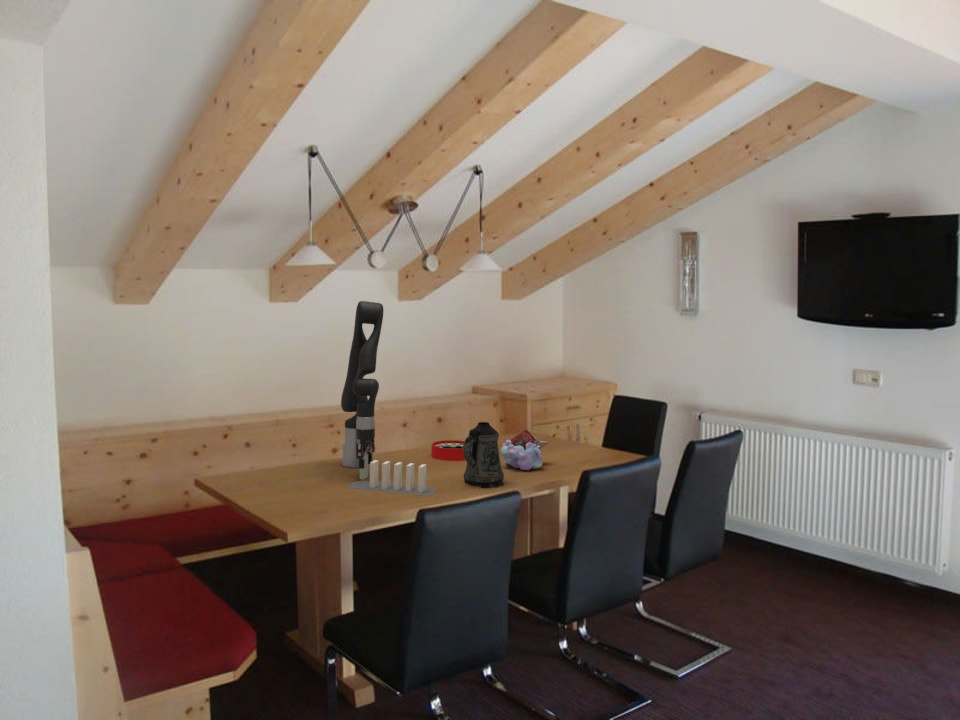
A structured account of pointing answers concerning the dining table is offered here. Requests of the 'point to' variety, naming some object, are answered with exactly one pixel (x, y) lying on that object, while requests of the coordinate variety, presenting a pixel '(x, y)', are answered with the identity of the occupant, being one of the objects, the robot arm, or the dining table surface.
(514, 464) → the swirly pastel blob
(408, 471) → the domino
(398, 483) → the domino
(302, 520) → the dining table surface
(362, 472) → the domino
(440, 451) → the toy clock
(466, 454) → the beer stein
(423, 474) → the domino
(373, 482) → the domino
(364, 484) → the mat
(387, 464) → the domino
